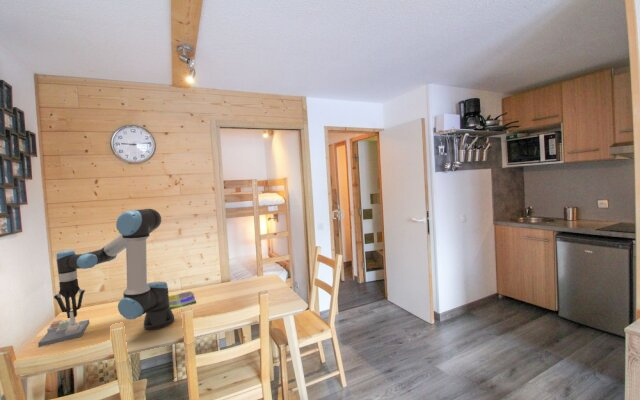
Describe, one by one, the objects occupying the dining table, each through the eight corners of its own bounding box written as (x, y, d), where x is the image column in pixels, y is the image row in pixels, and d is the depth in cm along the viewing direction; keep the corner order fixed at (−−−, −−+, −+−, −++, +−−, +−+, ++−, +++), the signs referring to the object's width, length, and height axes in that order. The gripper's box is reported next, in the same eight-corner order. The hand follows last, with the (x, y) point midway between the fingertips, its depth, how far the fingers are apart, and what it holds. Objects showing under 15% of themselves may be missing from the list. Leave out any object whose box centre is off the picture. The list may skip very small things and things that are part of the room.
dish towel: (166, 311, 183) (166, 307, 183) (165, 300, 204) (165, 296, 204) (196, 304, 191) (196, 300, 191) (193, 294, 213) (192, 290, 213)
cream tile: (78, 329, 157) (77, 324, 157) (68, 332, 155) (67, 326, 155) (79, 327, 161) (79, 321, 160) (70, 329, 159) (69, 323, 158)
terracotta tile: (60, 327, 163) (59, 322, 163) (51, 329, 161) (50, 324, 161) (62, 324, 166) (62, 319, 166) (53, 327, 164) (52, 321, 164)
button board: (81, 336, 156) (80, 329, 156) (38, 346, 148) (37, 339, 148) (89, 322, 174) (88, 316, 174) (51, 331, 166) (50, 324, 166)
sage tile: (68, 327, 160) (68, 321, 160) (59, 329, 158) (58, 323, 158) (70, 324, 163) (70, 319, 163) (61, 326, 162) (60, 321, 161)
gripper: (85, 275, 163) (89, 317, 164) (54, 280, 157) (59, 324, 158) (82, 278, 157) (86, 322, 157) (50, 284, 150) (55, 329, 151)
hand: (73, 323), depth 158 cm, fingers closed
